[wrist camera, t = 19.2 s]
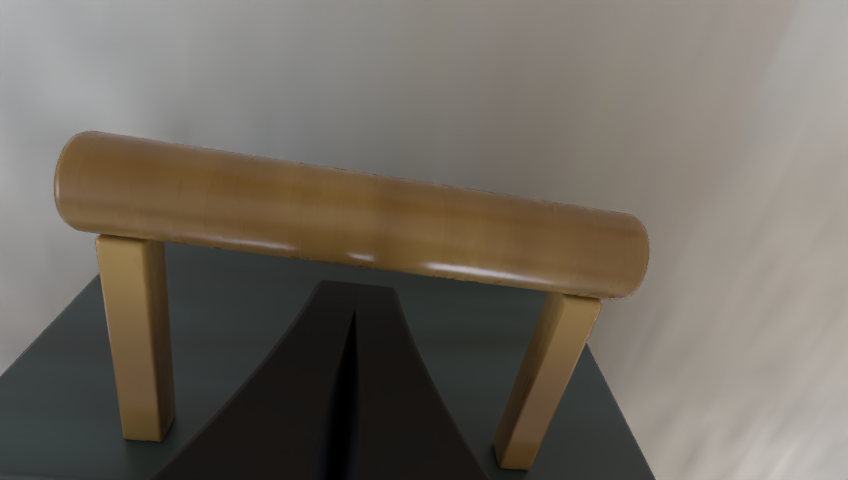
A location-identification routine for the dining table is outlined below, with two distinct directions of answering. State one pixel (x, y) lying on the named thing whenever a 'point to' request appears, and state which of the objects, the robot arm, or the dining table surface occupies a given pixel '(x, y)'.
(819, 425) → the dining table surface
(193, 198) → the drawer
